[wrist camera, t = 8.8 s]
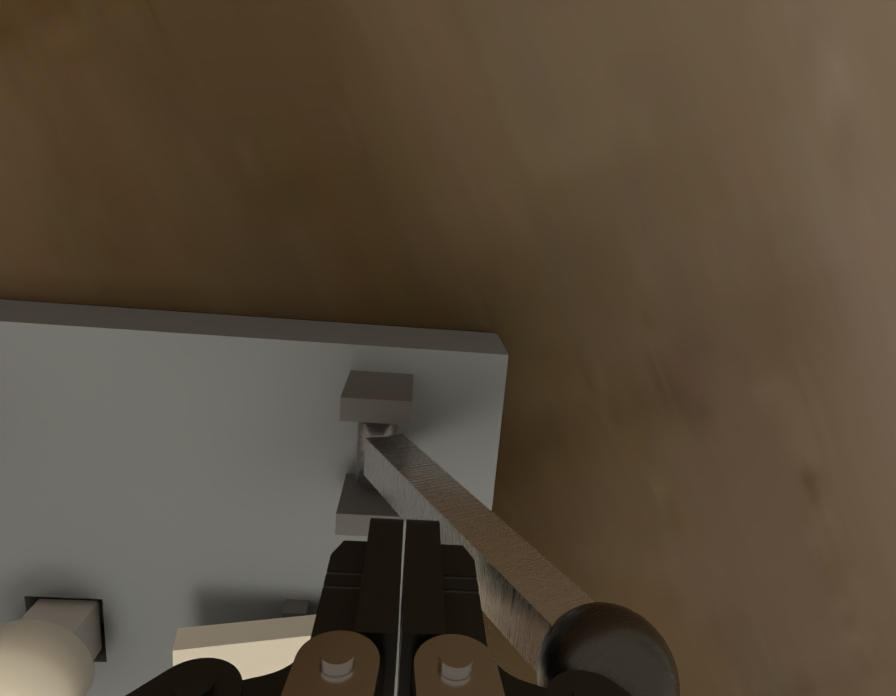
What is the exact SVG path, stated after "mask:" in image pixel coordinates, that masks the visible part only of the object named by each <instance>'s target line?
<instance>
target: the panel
mask: <svg viewBox="0 0 896 696" xmlns="http://www.w3.org/2000/svg"><path fill="white" fill-rule="evenodd" d="M508 356H509V355H508V353H507V351H506V349H505V347H504V345H503V343H502V341H501V339H500V338H499V336H498V334H497V333H486V332H471V331H457V330H442V329H427V328H413V327H398V326H383V325H369V324H354V323H339V322H325V321H310V320H296V319H281V318H266V317H252V316H237V315H222V314H208V313H193V312H178V311H164V310H149V309H134V308H120V307H105V306H91V305H76V304H61V303H47V302H32V301H17V300H3V299H0V626H1V625H3V624H5V623H8V622H11V621H15V620H20V619H21V618H22V617H23V616H24V615H25V613H26V612H27V611H28V610H29V609H30V608H31V607H32V606H33V605H34V604H35V603H36V602H37V601H38V599H39V598H40V599H66V600H92V601H98V603H99V617H100V630H101V644H102V649H101V651H100V652H99V653H98V655H97V656H96V658H95V659H94V661H93V662H94V680H93V683H92V686H91V688H90V689H89V691H88V693H87V694H86V696H126V695H127V694H129V693H130V692H132V691H134V690H135V689H137V688H139V687H140V686H142V685H143V684H145V683H147V682H148V681H150V680H152V679H153V678H155V677H156V676H158V675H160V674H161V673H163V672H164V671H166V670H168V669H169V668H171V667H173V646H174V642H175V638H176V633H177V629H178V628H185V627H195V626H205V625H215V624H225V623H235V622H245V621H255V620H265V619H275V618H285V617H295V616H305V615H315V614H316V613H317V609H318V605H319V601H320V597H321V593H322V589H323V584H324V580H325V576H326V574H327V568H328V564H329V560H330V556H331V554H332V553H333V551H334V550H335V549H336V548H337V547H338V546H339V545H340V544H341V543H342V542H343V541H344V540H347V541H367V539H368V532H369V525H370V519H371V518H387V519H402V518H401V517H400V516H399V515H398V513H397V512H396V511H395V510H394V509H393V508H392V507H391V505H390V504H389V503H388V502H387V501H386V500H385V499H384V497H383V496H382V495H381V494H380V493H379V492H378V491H377V489H376V488H367V487H364V486H361V485H359V484H358V483H357V482H356V461H357V439H358V422H367V423H384V424H397V434H398V433H402V434H404V435H405V436H406V437H407V438H408V439H409V440H410V441H412V442H413V443H414V444H415V445H416V446H417V447H418V448H420V449H421V450H422V451H423V452H424V453H425V454H427V455H428V456H429V457H430V458H431V459H432V460H433V461H435V462H436V463H437V464H438V465H439V466H440V467H441V468H443V469H444V470H445V471H446V472H447V473H448V474H449V475H451V476H452V477H453V478H454V479H455V480H456V481H457V482H459V483H460V484H461V485H462V486H463V487H464V488H465V489H467V490H468V491H469V492H470V493H471V494H472V495H473V496H475V497H476V498H477V499H478V500H479V501H480V502H481V503H483V504H484V505H485V506H486V507H487V508H488V509H490V510H491V511H492V503H493V494H494V485H495V476H496V466H497V457H498V448H499V439H500V430H501V420H502V411H503V402H504V393H505V384H506V374H507V365H508ZM405 534H406V523H405V521H404V524H403V544H402V564H401V585H400V605H399V625H398V643H397V658H396V674H395V689H394V696H397V682H398V660H399V638H400V616H401V597H402V580H403V565H404V550H405Z"/></svg>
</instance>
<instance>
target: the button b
mask: <svg viewBox="0 0 896 696" xmlns="http://www.w3.org/2000/svg"><path fill="white" fill-rule="evenodd" d="M101 649H102V644H101V630H100V617H99V603H98V601H92V600H66V599H40V598H39V599H38V601H37V602H36V603H35V604H34V605H33V606H32V607H31V608H30V609H29V610H28V611H27V612H26V613H25V615H24V616H23V617H22V618H21V619H20V620H15V621H11V622H8V623H5V624H3V625H1V626H0V696H86V694H87V693H88V691H89V689H90V688H91V686H92V683H93V680H94V662H93V661H94V659H95V658H96V656H97V655H98V653H99V652H100V651H101Z"/></svg>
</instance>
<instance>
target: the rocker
mask: <svg viewBox="0 0 896 696" xmlns="http://www.w3.org/2000/svg"><path fill="white" fill-rule="evenodd" d="M315 618H316V614H315V615H305V616H295V617H285V618H275V619H265V620H255V621H245V622H235V623H225V624H215V625H205V626H195V627H185V628H178V629H177V633H176V638H175V642H174V646H173V666H175V665H177V664H180V663H182V662H185V661H188V660H192V659H197V658H217V659H222V660H225V661H227V662H229V663H231V664H233V665H234V666H235V667H236V668H237V669H238V670H239V672H240V674H241V676H242V680H245V679H250V678H254V677H258V676H263V675H267V674H270V673H274V672H276V671H279V670H281V669H283V668H285V667H287V666H289V665H290V664H291V663H293V662H294V659H295V656H296V654H297V652H298V650H299V649H300V648H301V646H302V645H303V644H305V643H306V642H307V641H308V640H310V638H311V634H312V630H313V626H314V622H315Z"/></svg>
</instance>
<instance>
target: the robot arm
mask: <svg viewBox="0 0 896 696" xmlns="http://www.w3.org/2000/svg"><path fill="white" fill-rule="evenodd" d="M403 524H404V519H387V518H371V519H370V525H369V532H368V539H367V541H347V540H344V541H343V542H342V543H341V544H340V545H339V546H338V547H337V548H336V549H335V550H334V551H333V553H332V554H331V556H330V560H329V564H328V568H327V574H326V576H325V580H324V584H323V589H322V593H321V597H320V601H319V605H318V609H317V613H316V618H315V622H314V626H313V630H312V634H311V638H310V640H308V641H307V642H306V643H305V644H303V645H302V646H301V648H300V649H299V650H298V652H297V654H296V656H295V659H294V662H293V663H291V664H290V665H289V666H287V667H285V668H283V669H281V670H279V671H276V672H274V673H270V674H267V675H263V676H258V677H254V678H250V679H245V680H242V676H241V674H240V672H239V670H238V669H237V668H236V667H235V666H234V665H233V664H231V663H229V662H227V661H225V660H222V659H217V658H197V659H192V660H188V661H185V662H182V663H180V664H177V665H175V666H173V667H171V668H169V669H168V670H166V671H164V672H163V673H161V674H160V675H158V676H156V677H155V678H153V679H152V680H150V681H148V682H147V683H145V684H143V685H142V686H140V687H139V688H137V689H135V690H134V691H132V692H130V693H129V694H127V695H126V696H394V689H395V674H396V658H397V643H398V625H399V605H400V585H401V564H402V544H403ZM397 696H632V695H631V694H630V693H628V692H627V691H626V690H624V689H623V688H622V687H620V686H619V685H618V684H616V683H615V682H613V681H612V680H610V679H609V678H607V677H605V676H603V675H600V674H597V673H594V672H590V671H584V670H571V671H566V672H563V673H561V674H559V675H557V676H555V677H554V678H553V679H552V680H551V681H550V683H549V684H548V687H547V688H545V687H541V686H538V685H535V684H531V683H528V682H525V681H522V680H519V679H517V678H515V677H513V676H511V675H510V674H508V673H507V672H505V671H504V670H503V669H501V668H500V667H499V666H498V665H497V662H496V660H495V657H494V655H493V654H492V652H491V651H490V650H489V649H488V648H487V643H486V636H485V629H484V622H483V615H482V609H481V602H480V595H479V588H478V581H477V574H476V567H475V560H474V559H473V558H472V556H471V555H470V554H469V553H468V551H467V550H466V549H465V547H464V546H463V545H445V544H441V538H440V522H439V521H435V520H412V519H407V520H406V534H405V550H404V565H403V580H402V597H401V616H400V638H399V660H398V682H397Z"/></svg>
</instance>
